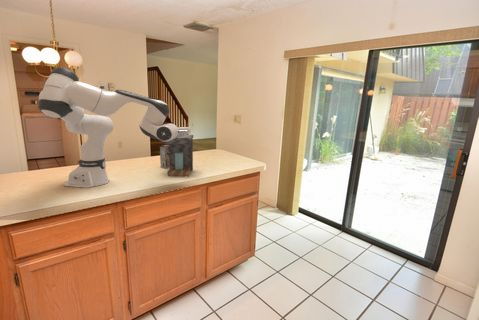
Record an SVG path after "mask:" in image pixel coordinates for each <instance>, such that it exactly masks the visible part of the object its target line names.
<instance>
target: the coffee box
mask: <svg viewBox="0 0 479 320" xmlns="http://www.w3.org/2000/svg"><path fill="white" fill-rule="evenodd" d="M159 160H160V162H159V163H160V168H162V169H170V165H169V144H163V145H159Z"/></svg>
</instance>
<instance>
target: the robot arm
mask: <svg viewBox="0 0 479 320" xmlns="http://www.w3.org/2000/svg"><path fill="white" fill-rule="evenodd" d="M129 103H135V104H139V105H142V106H145V107H147V109H146V112H145V113H144V115H143V117H142V119H141V120H140V123H139V125H138V126H139V129H140V131H141V132H142V134H144V135H145V136H146V137H149V138H151V139H154V140H155V139H157V140H159V141H161V142H163V141H164V142H168V141H171V140H173V139H175V138H176V137H177V136H178V134H180V135H191V127H190V126H183V127H182V126H181V127H178V126H177V125H176V124H174V123H164V122H165V120H166V119H167V118H168V116H169V114H170V113H171V111H170V107H169V105H168V104H167V103H166V102H164V101H163V100H160V99H154V98H150V97H147V96H145V95H141V94H137V93H135V92H131V91H127V90H123V89H115V90H114V91H107V90H104V89H103V88H100V87H97V86H94V85H92V84H89V83H85V82H83V81H80V80H79V76H78V75H77V74H76V73H75V72H74V71H72V70H70V69H68V68H65V67H55V68H53V69H52V70H51V71H50V73H49V76H48V77H47V80H46V81H45V83H44V86H43V89H42V90H41V91H40V92H39V95H38V103H37V109H38V110H39V111H40V112H41V113H42V114H43V115H46V116H47V117H50V118H55V119H61V120H62V121H63V122H64V125H65V128H66V130H67V131H68V132H70V133H73V134H77V135H87V140H86V141H85V142H83V143H82V144H81V145H80V156H81V159H79V160H78V161H77V162H76V164H78V166H77V167H76V168H74V169H72V171H70V172H69V174H68V178H67V180H65V182H64V183H63V186H64V187H74V188H88V189H89V188H93V187H97V186H102V185H105V184H107V183H109V182H110V179H109V176H108V174H107V168H106V165H107V164H106V158H105V152H104V146H105V144H104V143H105V140H106V139H107V138H108V136H109V135H110V134H112V132H113V130H114V127H115V126H114V121H113V120H112V119H111V117H108V116H111V115H113V114H115V113H116V112H118V111H119V110H121V108H123V107H124V106H125V105H127V104H129ZM85 110H86V111H87V112H90V113H93V114H87V113H85Z"/></svg>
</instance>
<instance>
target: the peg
mask: <svg viewBox="0 0 479 320" xmlns="http://www.w3.org/2000/svg"><path fill="white" fill-rule="evenodd" d="M175 170H183V152H176V153H175Z"/></svg>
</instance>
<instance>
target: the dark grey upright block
mask: <svg viewBox="0 0 479 320" xmlns="http://www.w3.org/2000/svg"><path fill="white" fill-rule="evenodd" d="M193 138H194V134H178V136H177V137H176V138H175V139H173V140H171V141H168V142H164V141H162V142H163V145H169V165H170V168H168V170H167V177H184V176H187V177H189V175H190V173H191V172H193V170H194V160H193V159H194V156H193V155H194V152H193V151H194V147H193V145H194V143H193V142H194V141H193ZM176 152H183V170H175V153H176Z"/></svg>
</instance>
